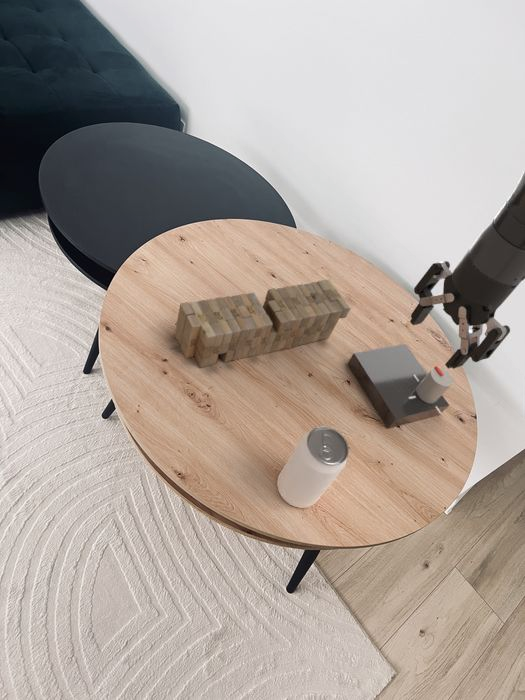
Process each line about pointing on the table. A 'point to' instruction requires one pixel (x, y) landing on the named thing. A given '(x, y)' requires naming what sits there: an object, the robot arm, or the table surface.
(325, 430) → the can
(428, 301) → the robot arm
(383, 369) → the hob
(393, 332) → the table surface
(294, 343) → the block tower
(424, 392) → the knob
